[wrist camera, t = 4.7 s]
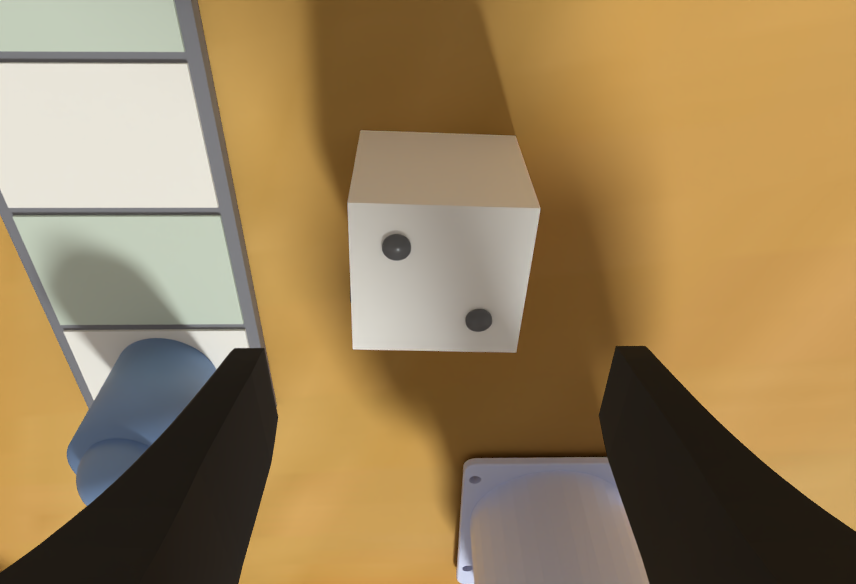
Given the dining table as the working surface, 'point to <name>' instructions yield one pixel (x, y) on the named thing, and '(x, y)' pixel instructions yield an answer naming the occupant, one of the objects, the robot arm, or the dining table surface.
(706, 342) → the dining table surface
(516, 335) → the die
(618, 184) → the dining table surface
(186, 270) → the board
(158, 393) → the pawn
